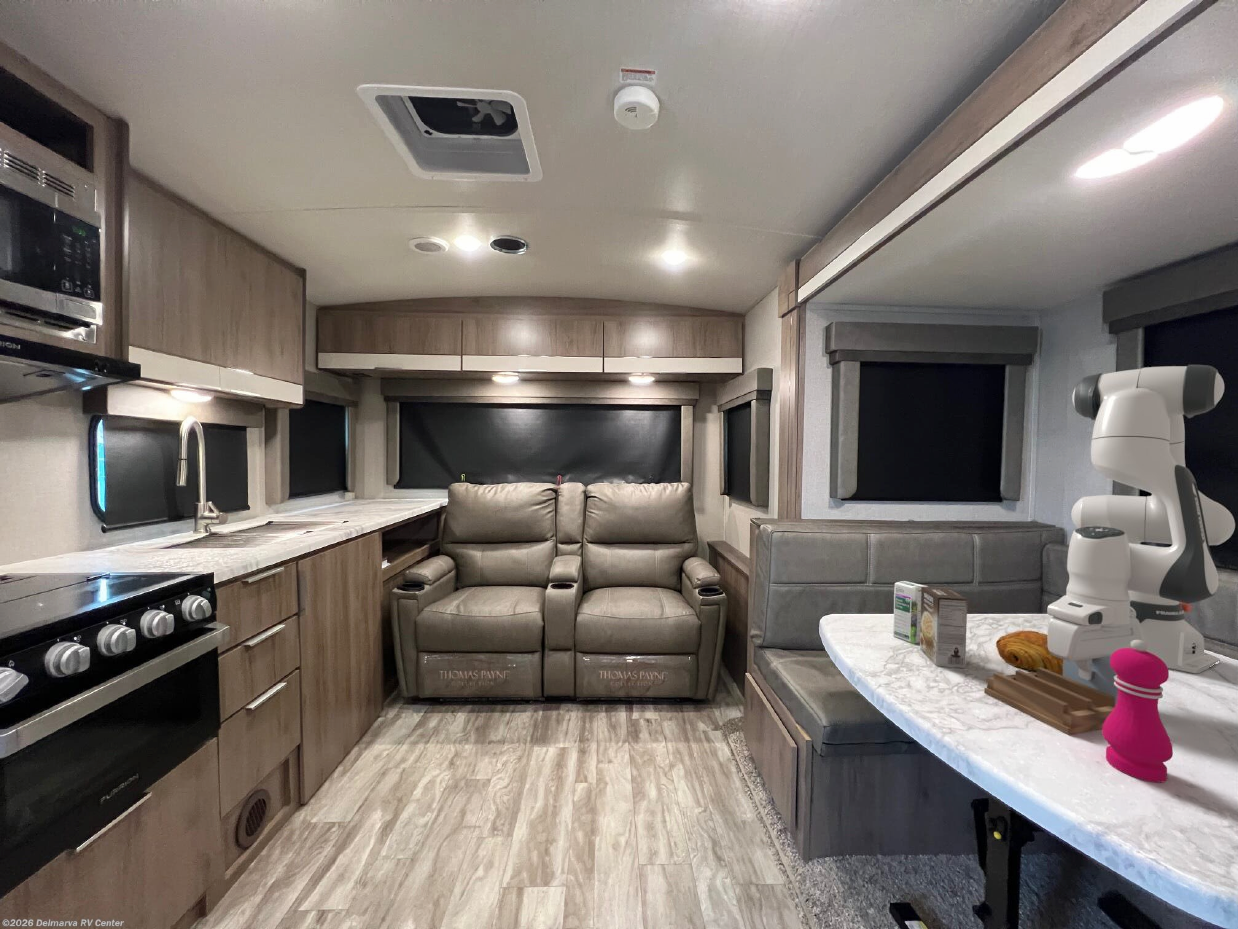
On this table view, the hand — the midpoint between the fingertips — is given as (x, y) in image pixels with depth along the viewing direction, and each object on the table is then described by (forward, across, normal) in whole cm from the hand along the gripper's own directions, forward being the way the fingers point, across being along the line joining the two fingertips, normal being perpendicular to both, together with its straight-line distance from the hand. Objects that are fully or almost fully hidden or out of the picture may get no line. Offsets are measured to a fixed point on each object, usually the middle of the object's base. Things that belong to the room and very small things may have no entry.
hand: (1094, 677), depth 92 cm
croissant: (+5, -6, -14) cm, 16 cm away
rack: (+4, +13, +1) cm, 14 cm away
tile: (+4, 0, 0) cm, 4 cm away
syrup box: (+4, +11, -33) cm, 35 cm away
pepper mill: (+4, +20, +17) cm, 27 cm away
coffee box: (+4, +14, -21) cm, 26 cm away
